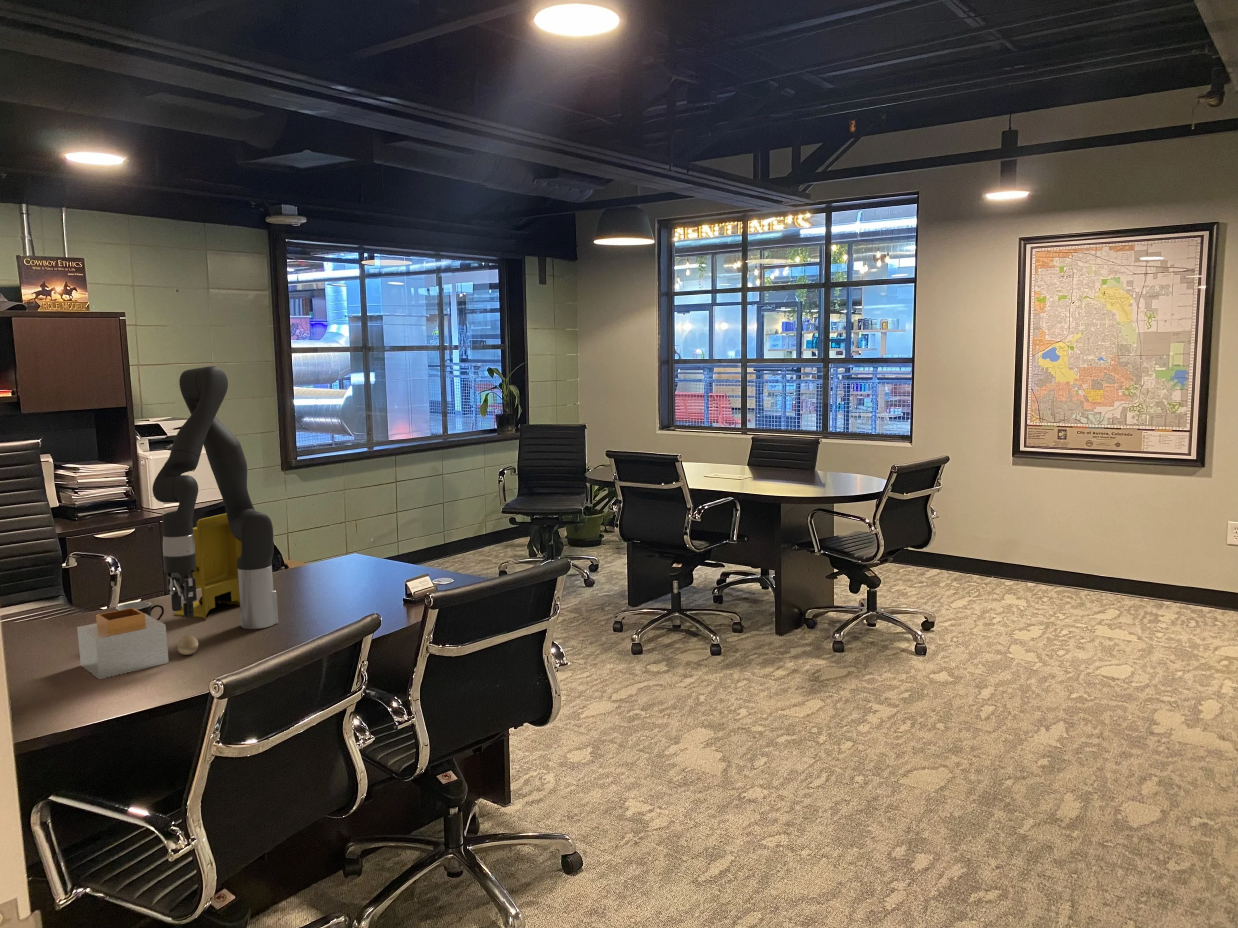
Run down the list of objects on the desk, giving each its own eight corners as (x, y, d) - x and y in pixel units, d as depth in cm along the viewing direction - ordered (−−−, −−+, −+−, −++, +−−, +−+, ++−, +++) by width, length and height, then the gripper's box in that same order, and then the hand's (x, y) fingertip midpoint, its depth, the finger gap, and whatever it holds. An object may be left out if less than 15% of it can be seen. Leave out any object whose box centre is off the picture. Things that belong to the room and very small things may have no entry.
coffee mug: (118, 648, 247) (115, 611, 246) (119, 639, 255) (115, 604, 254) (166, 641, 253) (163, 605, 251) (165, 633, 260) (163, 598, 259)
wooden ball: (194, 650, 245) (193, 631, 244) (202, 654, 241) (200, 635, 241) (175, 654, 241) (173, 636, 241) (182, 658, 238) (180, 640, 237)
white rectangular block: (147, 650, 245) (143, 602, 244) (168, 662, 235) (164, 613, 233) (80, 665, 234) (76, 615, 233) (99, 679, 224) (94, 627, 222)
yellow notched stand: (233, 594, 301) (227, 503, 297) (267, 597, 296) (261, 505, 292) (154, 621, 272) (146, 521, 268) (191, 625, 267) (183, 523, 263)
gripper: (204, 554, 235) (208, 616, 237) (184, 546, 246) (187, 605, 247) (173, 558, 230) (177, 621, 232) (154, 550, 240) (158, 611, 242)
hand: (182, 613), depth 240 cm, fingers open, 8 cm apart
